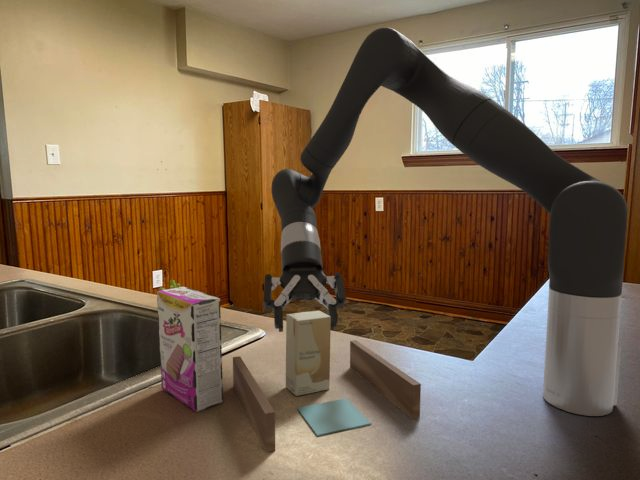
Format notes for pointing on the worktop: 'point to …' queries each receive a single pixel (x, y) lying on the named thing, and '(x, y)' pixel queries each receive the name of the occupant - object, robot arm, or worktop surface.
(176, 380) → the candy bar box
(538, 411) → the worktop surface
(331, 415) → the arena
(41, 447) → the worktop surface
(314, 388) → the skincare box
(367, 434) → the worktop surface
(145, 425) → the worktop surface
